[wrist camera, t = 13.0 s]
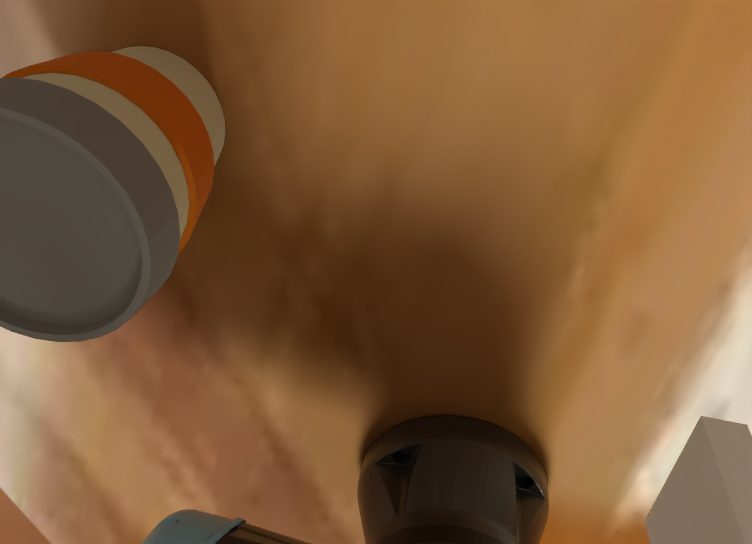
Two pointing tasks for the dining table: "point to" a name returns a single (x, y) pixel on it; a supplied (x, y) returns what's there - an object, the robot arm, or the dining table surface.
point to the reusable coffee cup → (99, 185)
